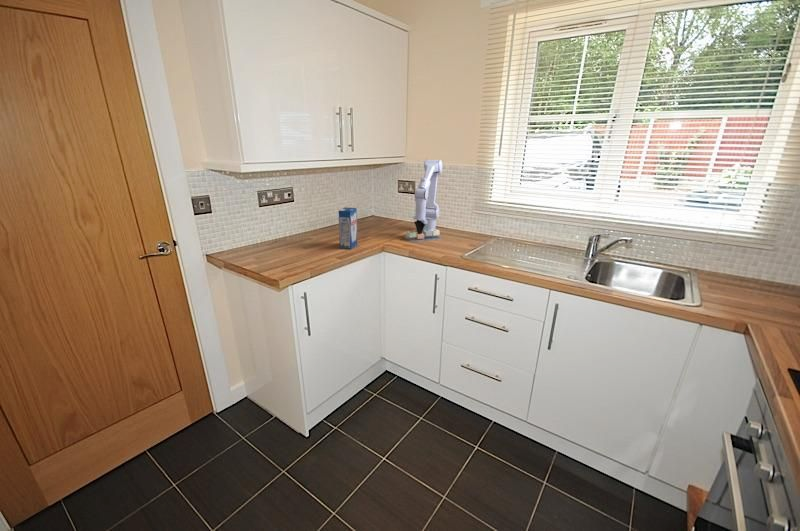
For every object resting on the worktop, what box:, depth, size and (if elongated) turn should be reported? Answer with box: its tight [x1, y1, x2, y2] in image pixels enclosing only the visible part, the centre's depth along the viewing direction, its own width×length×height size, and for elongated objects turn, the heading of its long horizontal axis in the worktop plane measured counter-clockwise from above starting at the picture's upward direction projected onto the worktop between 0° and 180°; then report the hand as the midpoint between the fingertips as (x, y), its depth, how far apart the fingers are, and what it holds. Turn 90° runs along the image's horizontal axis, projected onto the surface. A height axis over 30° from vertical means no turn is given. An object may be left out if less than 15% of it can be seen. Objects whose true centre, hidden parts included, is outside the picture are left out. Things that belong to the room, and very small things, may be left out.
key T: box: [415, 232, 424, 239], centre depth 197 cm, size 4×4×2 cm
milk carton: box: [338, 207, 358, 250], centre depth 180 cm, size 10×6×20 cm, turn 168°
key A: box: [430, 228, 441, 236], centre depth 200 cm, size 4×4×2 cm
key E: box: [406, 230, 417, 237], centre depth 194 cm, size 4×4×2 cm
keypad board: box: [403, 235, 444, 243], centre depth 198 cm, size 12×20×1 cm, turn 113°
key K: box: [422, 230, 432, 236], centre depth 198 cm, size 4×4×2 cm
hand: (419, 233), depth 196 cm, fingers closed, pressing on key T
